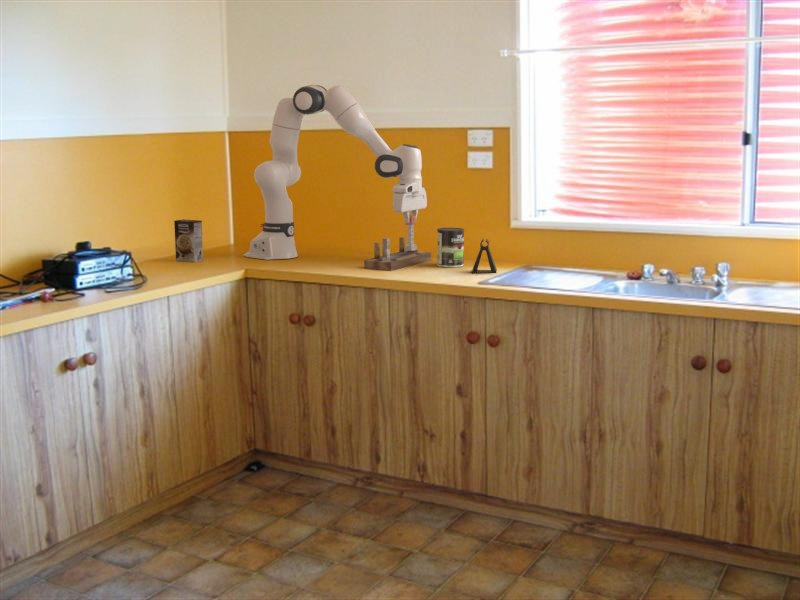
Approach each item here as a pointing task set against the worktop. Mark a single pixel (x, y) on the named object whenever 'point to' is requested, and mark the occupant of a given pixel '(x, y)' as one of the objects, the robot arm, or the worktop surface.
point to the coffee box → (188, 240)
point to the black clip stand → (490, 259)
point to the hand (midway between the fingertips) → (410, 222)
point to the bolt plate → (395, 257)
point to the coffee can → (450, 247)
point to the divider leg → (410, 234)
